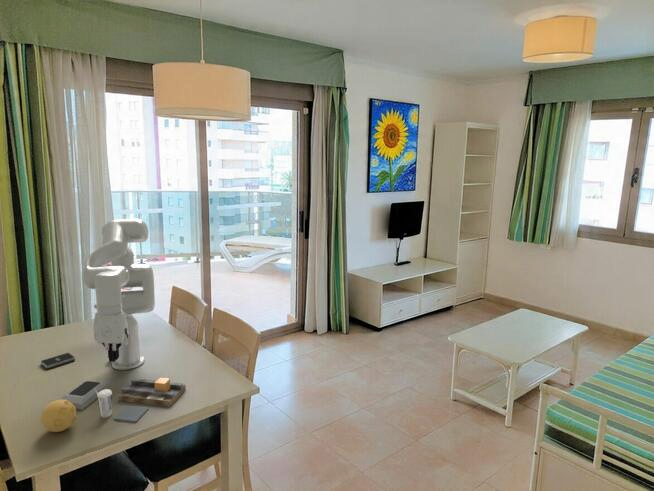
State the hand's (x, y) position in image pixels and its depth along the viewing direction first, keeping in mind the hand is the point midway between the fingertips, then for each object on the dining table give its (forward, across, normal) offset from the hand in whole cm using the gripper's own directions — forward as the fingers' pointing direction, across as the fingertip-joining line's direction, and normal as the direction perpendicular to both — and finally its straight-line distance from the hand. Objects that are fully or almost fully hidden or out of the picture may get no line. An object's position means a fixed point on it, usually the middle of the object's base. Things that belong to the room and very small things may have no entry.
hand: (114, 359), depth 153 cm
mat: (+19, +6, -2) cm, 20 cm away
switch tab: (+17, +11, +11) cm, 23 cm away
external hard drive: (+19, -44, +29) cm, 56 cm away
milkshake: (+19, -3, -3) cm, 20 cm away
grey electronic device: (+20, -17, +6) cm, 27 cm away
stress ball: (+19, -12, -13) cm, 26 cm away
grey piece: (+19, +7, +12) cm, 23 cm away
